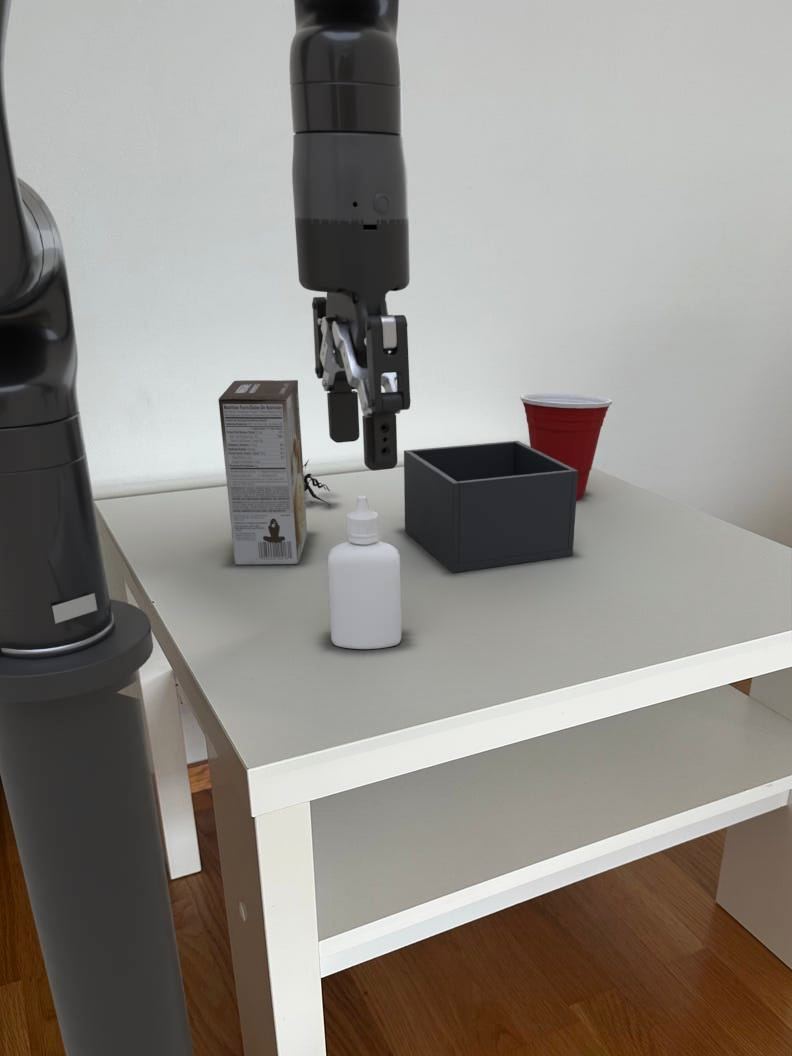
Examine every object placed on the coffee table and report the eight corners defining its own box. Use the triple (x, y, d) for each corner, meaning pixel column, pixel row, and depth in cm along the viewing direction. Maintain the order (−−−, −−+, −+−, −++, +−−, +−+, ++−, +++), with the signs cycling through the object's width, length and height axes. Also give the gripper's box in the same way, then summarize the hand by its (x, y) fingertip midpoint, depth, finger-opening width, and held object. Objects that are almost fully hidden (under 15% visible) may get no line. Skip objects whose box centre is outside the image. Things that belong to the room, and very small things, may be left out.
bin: (452, 573, 90) (453, 483, 86) (404, 531, 100) (403, 450, 97) (572, 555, 95) (578, 470, 91) (514, 518, 106) (517, 440, 102)
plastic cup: (607, 485, 118) (615, 389, 113) (602, 510, 109) (610, 406, 104) (522, 479, 120) (526, 384, 115) (509, 503, 110) (513, 400, 105)
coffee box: (247, 534, 98) (232, 378, 91) (308, 534, 99) (299, 379, 92) (233, 566, 90) (216, 396, 83) (300, 565, 91) (289, 397, 84)
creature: (307, 497, 114) (250, 495, 109) (313, 453, 113) (255, 449, 107) (345, 513, 109) (287, 511, 104) (352, 467, 108) (293, 462, 102)
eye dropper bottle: (351, 624, 78) (345, 485, 73) (410, 637, 76) (408, 495, 71) (322, 644, 75) (314, 499, 70) (383, 658, 73) (379, 510, 68)
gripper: (270, 210, 67) (288, 437, 73) (327, 215, 55) (341, 484, 62) (371, 211, 69) (378, 429, 76) (445, 215, 58) (446, 473, 65)
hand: (362, 454), depth 69 cm, fingers open, 8 cm apart
